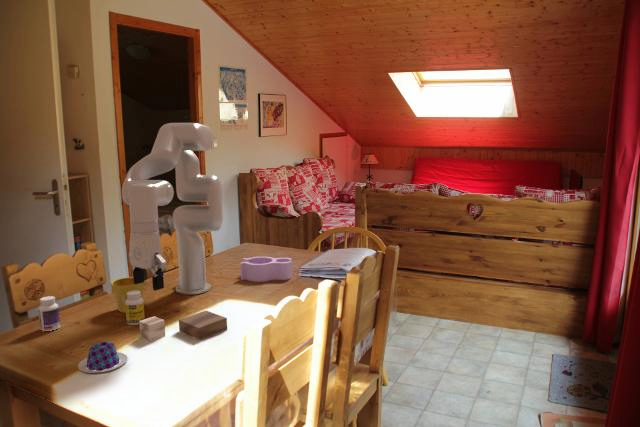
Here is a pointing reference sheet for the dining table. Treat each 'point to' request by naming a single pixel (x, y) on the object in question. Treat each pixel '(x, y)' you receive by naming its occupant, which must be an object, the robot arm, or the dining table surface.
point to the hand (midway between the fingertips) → (148, 286)
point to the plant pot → (124, 290)
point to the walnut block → (202, 325)
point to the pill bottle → (49, 314)
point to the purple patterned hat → (102, 358)
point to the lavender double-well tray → (266, 269)
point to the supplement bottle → (134, 308)
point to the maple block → (152, 328)
